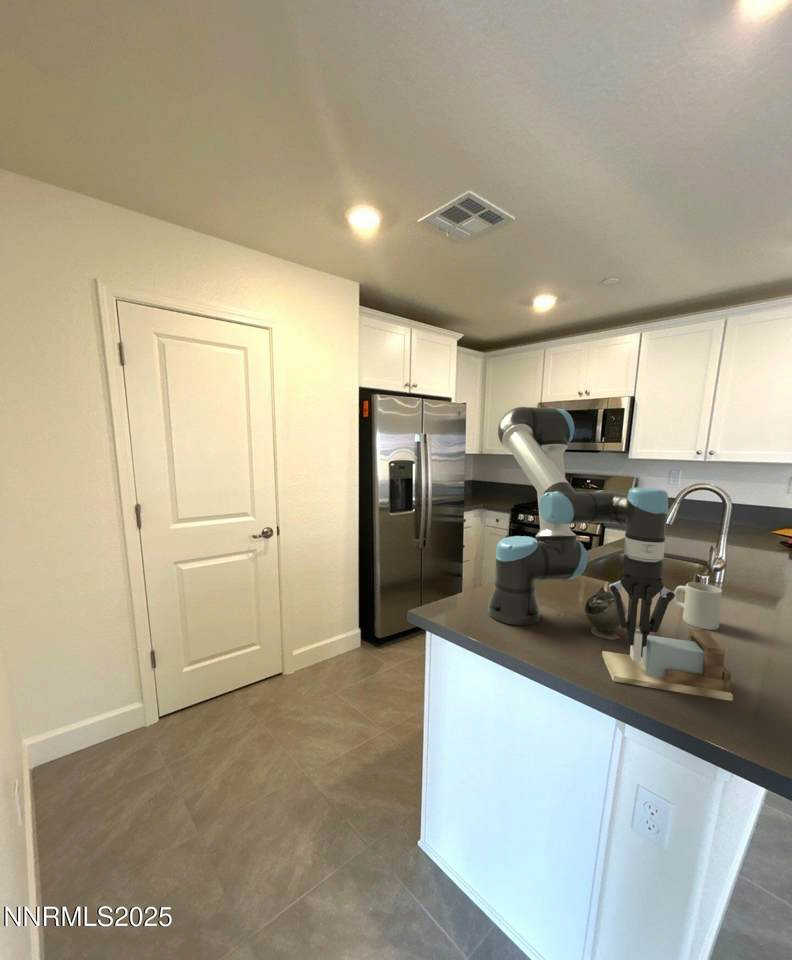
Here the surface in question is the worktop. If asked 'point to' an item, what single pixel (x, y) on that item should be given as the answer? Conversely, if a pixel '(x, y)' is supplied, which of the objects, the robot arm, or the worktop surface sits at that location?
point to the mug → (700, 605)
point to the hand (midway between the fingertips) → (635, 658)
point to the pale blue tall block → (671, 656)
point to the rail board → (705, 684)
